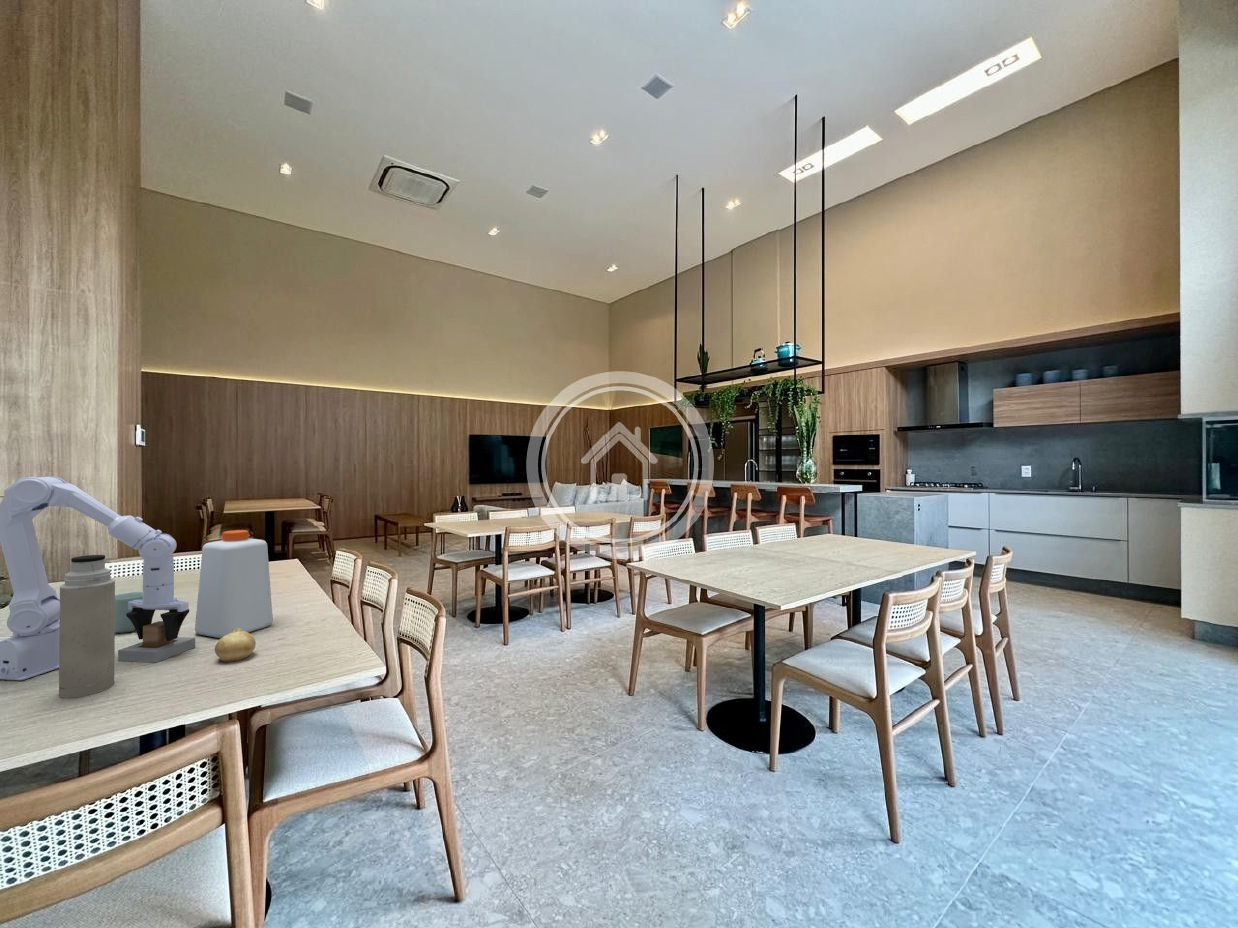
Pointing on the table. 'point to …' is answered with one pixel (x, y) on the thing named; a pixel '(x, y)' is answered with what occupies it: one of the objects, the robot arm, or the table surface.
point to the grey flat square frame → (155, 651)
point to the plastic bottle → (233, 586)
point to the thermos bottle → (86, 628)
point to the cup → (124, 611)
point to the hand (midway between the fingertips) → (158, 638)
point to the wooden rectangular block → (155, 635)
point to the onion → (235, 645)
